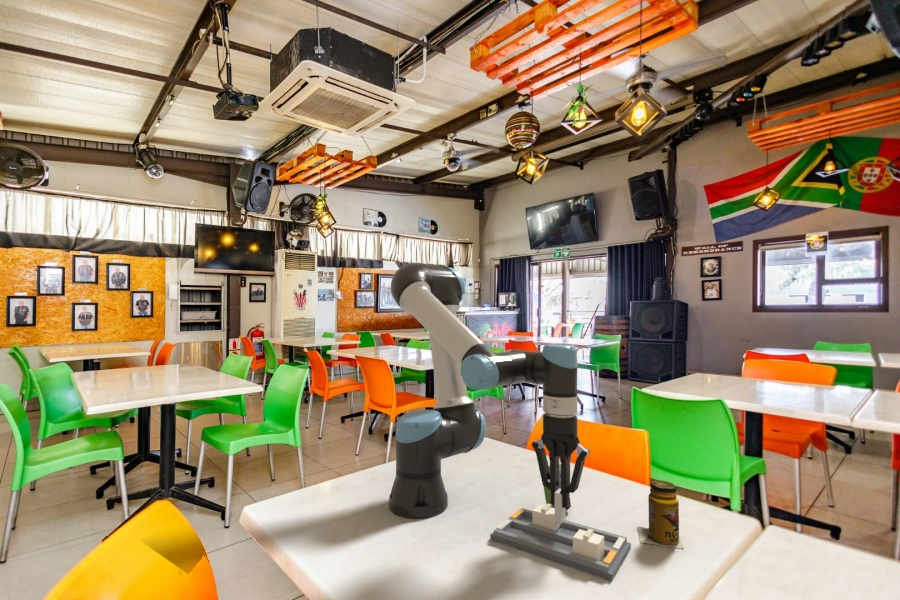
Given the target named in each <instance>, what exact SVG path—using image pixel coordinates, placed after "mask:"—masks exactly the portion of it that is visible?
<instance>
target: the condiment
mask: <svg viewBox="0 0 900 600" xmlns="http://www.w3.org/2000/svg"><path fill="white" fill-rule="evenodd" d="M649 486H650V488H649V491H650V493H649V494H648V499H647V500H648V527H644V526H637V527H636V528H637V533H638V537H639V542H640V543H642V544H648V545H656V546H661V547H667V548H668V547H669V548H672V549H673V548H674V549H682V550H683V549H684V546H683V544H682V541H681V538H680V515H679V514H680V513H679V511H680V509H679V506H680V503H679V498H678V497H677V496H678V495H677V494H678V493H677V487H676V485H675V484H674V483H672V482H670V481H667V480H666V481H665V480H653V481H650V483H649Z"/></svg>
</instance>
